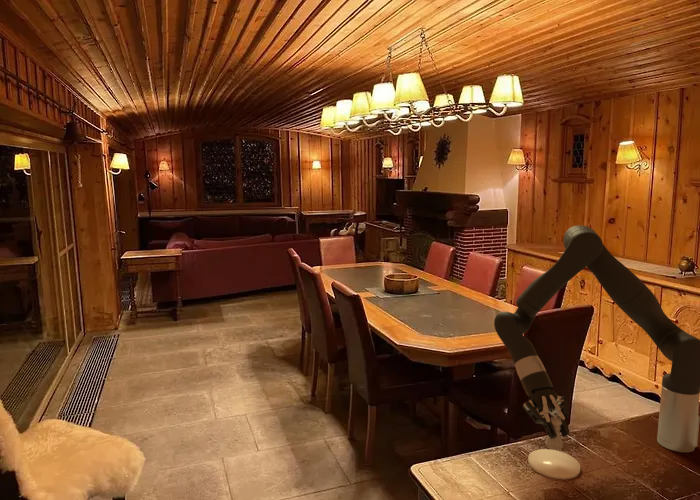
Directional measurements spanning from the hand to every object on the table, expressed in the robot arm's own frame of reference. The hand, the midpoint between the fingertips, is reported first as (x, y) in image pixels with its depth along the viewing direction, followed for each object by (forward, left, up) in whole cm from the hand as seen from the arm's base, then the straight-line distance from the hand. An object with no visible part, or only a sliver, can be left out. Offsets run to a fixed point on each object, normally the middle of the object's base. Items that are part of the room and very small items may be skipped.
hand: (560, 436), depth 133 cm
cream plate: (0, -2, -9) cm, 10 cm away
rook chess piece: (0, -2, -4) cm, 5 cm away
